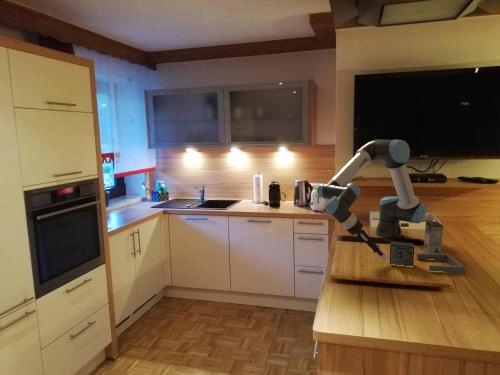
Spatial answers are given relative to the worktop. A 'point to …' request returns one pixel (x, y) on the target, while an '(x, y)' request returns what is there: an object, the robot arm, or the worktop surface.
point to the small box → (402, 253)
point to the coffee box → (433, 237)
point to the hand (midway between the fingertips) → (386, 258)
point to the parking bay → (454, 268)
